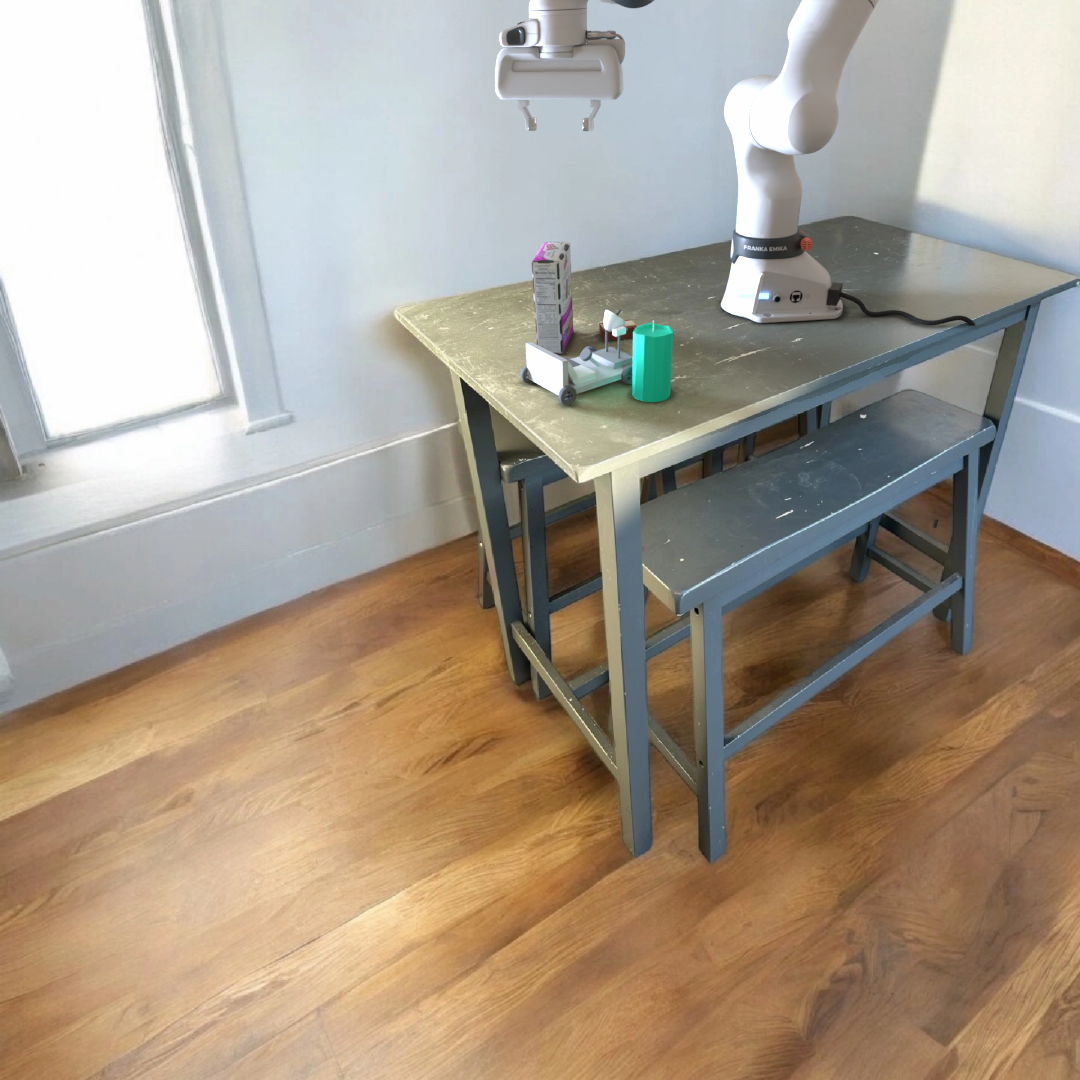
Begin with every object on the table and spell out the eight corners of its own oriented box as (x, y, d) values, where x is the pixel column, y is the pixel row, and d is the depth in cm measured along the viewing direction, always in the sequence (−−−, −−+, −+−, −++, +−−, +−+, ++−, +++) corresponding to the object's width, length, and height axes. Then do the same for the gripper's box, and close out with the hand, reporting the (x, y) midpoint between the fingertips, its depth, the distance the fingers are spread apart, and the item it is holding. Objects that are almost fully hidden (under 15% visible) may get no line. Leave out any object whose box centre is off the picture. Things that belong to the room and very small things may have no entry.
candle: (660, 405, 130) (663, 329, 123) (625, 397, 133) (626, 323, 126) (676, 390, 134) (680, 316, 127) (642, 383, 137) (644, 310, 130)
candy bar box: (547, 331, 158) (543, 241, 149) (573, 332, 157) (571, 241, 148) (535, 354, 149) (530, 259, 140) (563, 355, 148) (560, 260, 139)
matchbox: (630, 329, 157) (630, 318, 156) (636, 337, 154) (637, 326, 153) (598, 333, 156) (598, 322, 155) (604, 341, 153) (604, 330, 152)
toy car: (607, 300, 141) (652, 318, 133) (607, 356, 147) (650, 377, 139) (516, 326, 133) (559, 347, 125) (520, 384, 139) (561, 407, 131)
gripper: (628, 28, 131) (626, 127, 138) (500, 31, 135) (505, 127, 143) (622, 31, 126) (620, 134, 133) (489, 33, 130) (494, 133, 138)
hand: (559, 130), depth 138 cm, fingers open, 8 cm apart
